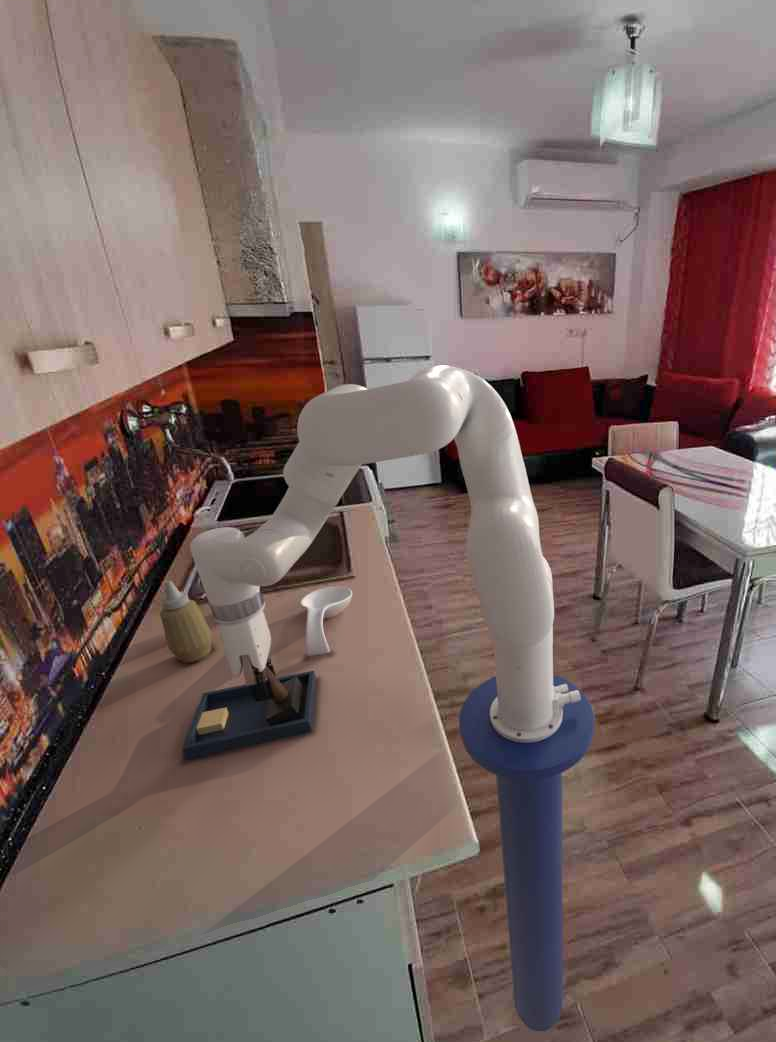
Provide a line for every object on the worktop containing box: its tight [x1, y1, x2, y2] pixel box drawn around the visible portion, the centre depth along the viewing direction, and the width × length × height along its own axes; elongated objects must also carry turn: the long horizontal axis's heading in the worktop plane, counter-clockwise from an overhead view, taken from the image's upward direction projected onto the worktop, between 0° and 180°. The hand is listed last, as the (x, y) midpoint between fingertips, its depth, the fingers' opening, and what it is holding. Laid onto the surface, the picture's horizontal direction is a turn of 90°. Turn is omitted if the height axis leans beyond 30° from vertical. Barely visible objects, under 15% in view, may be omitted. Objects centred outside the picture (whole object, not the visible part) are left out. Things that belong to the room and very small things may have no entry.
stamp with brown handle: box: [254, 666, 302, 726], centre depth 89 cm, size 8×5×10 cm, turn 15°
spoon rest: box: [299, 585, 353, 657], centre depth 115 cm, size 24×12×7 cm, turn 11°
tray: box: [181, 670, 317, 761], centre depth 90 cm, size 20×14×2 cm
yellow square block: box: [196, 708, 229, 735], centre depth 89 cm, size 4×4×2 cm
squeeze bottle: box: [159, 579, 213, 663], centre depth 105 cm, size 8×8×18 cm
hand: (266, 691), depth 89 cm, fingers closed on stamp with brown handle, 2 cm apart
